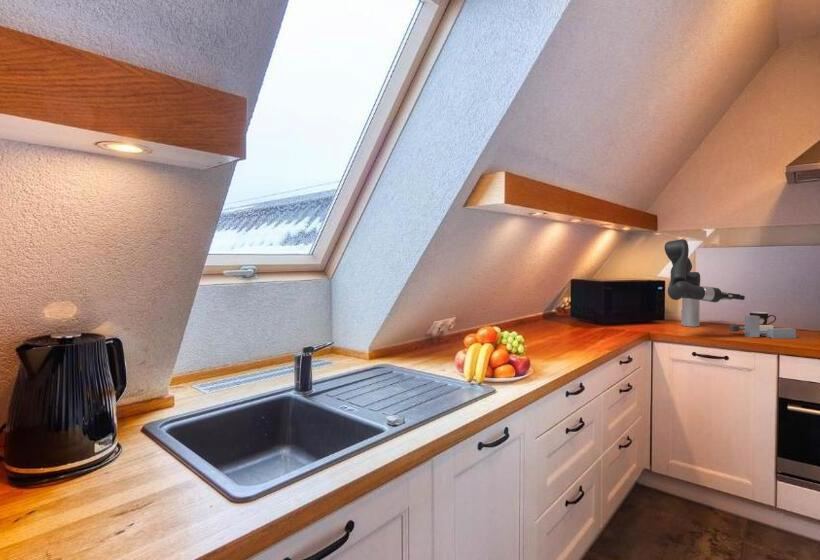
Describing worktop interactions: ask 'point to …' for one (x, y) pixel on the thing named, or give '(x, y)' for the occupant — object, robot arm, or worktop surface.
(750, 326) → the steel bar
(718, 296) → the robot arm
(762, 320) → the coffee mug
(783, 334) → the vise
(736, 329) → the vise jaw
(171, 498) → the worktop surface
